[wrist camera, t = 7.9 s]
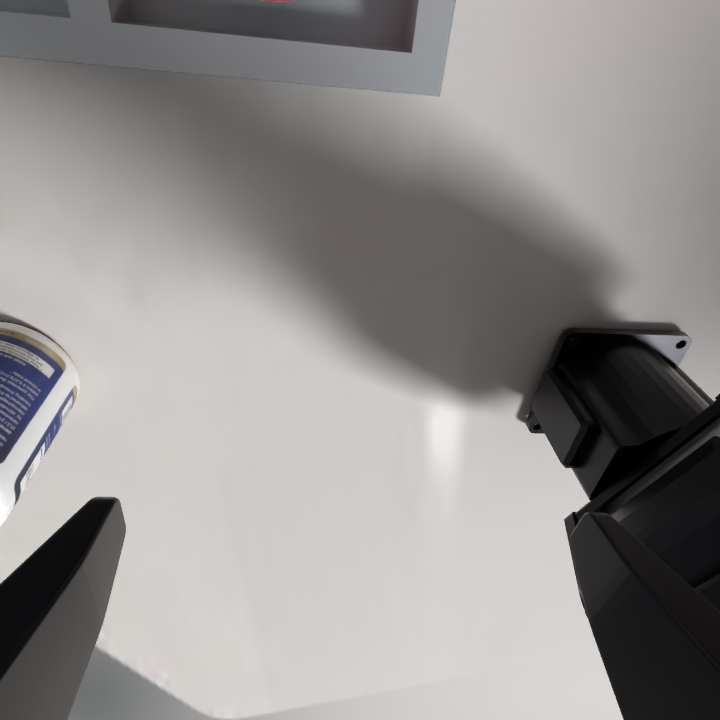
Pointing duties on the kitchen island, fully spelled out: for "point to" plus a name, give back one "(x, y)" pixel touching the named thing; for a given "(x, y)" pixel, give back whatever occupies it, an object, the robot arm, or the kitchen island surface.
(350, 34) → the carton tray
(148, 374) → the kitchen island surface
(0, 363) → the pill bottle
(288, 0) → the pill bottle
